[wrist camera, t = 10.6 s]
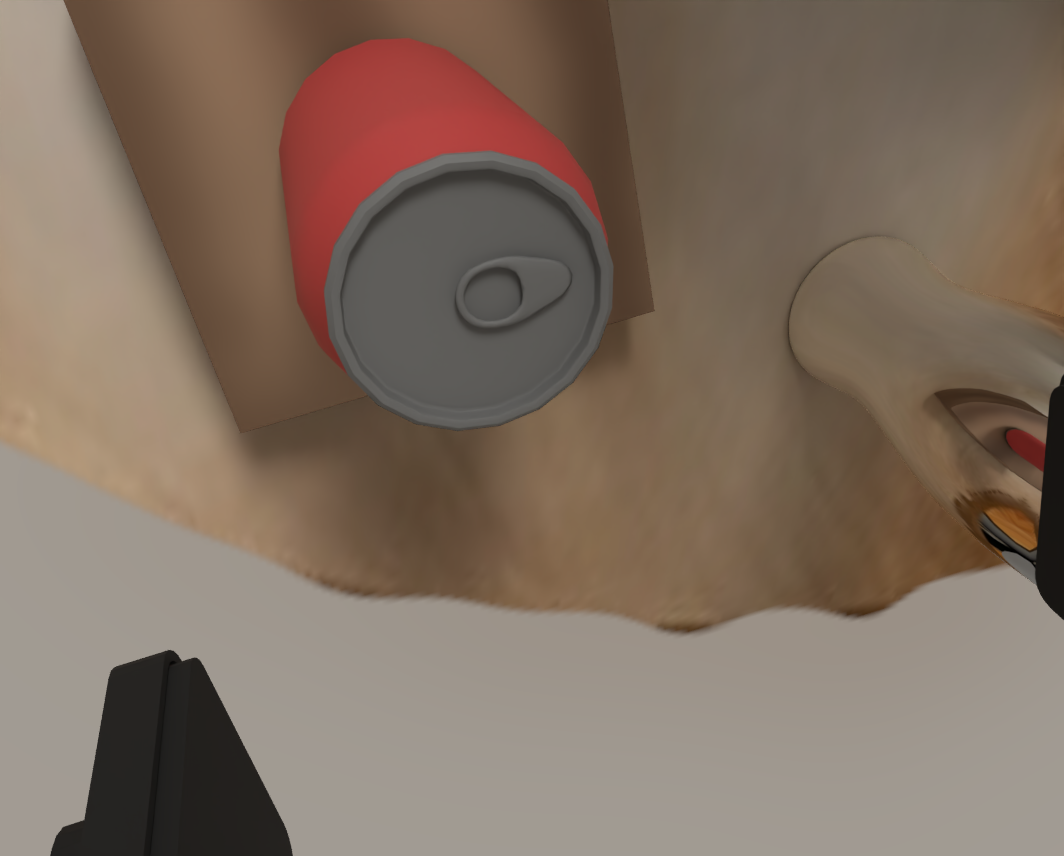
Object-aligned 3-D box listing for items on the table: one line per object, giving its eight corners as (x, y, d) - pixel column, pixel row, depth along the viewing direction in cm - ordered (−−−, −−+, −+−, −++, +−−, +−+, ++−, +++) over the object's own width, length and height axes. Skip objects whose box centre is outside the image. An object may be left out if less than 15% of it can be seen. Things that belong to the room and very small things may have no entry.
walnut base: (552, -164, 29) (582, -168, 27) (625, 280, 36) (654, 310, 34) (65, -48, 28) (47, -41, 25) (241, 392, 35) (240, 433, 32)
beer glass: (752, 281, 38) (1013, 489, 25) (917, 189, 38) (1266, 348, 25) (806, 421, 41) (1058, 665, 28) (957, 337, 41) (1278, 544, 28)
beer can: (523, 236, 31) (657, 408, 21) (313, 287, 31) (347, 491, 20) (483, 11, 28) (619, 86, 18) (248, 62, 27) (248, 170, 17)
